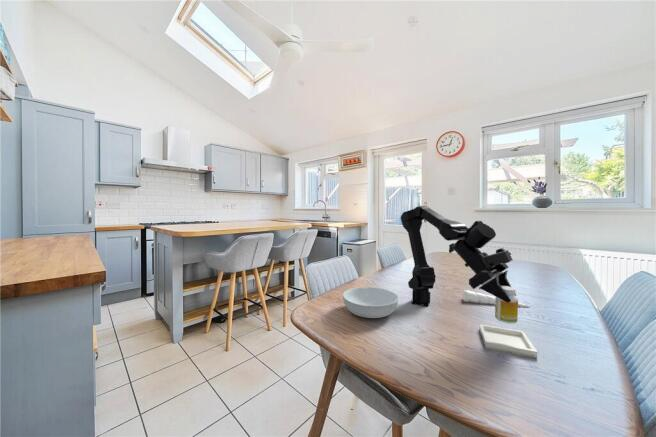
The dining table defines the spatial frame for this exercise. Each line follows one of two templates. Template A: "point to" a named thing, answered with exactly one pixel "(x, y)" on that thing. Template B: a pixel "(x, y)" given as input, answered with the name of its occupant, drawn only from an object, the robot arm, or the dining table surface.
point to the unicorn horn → (482, 298)
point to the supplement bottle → (507, 307)
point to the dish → (507, 341)
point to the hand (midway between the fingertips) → (512, 299)
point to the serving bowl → (370, 301)
